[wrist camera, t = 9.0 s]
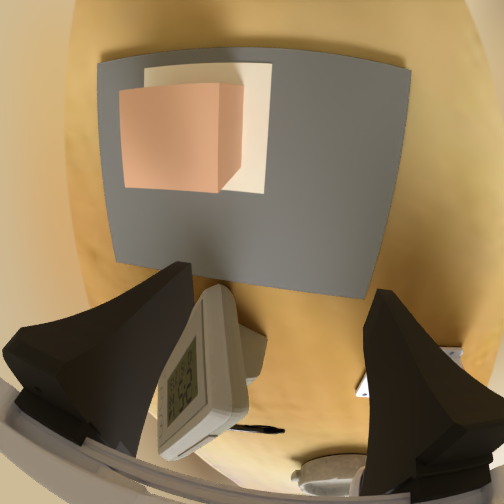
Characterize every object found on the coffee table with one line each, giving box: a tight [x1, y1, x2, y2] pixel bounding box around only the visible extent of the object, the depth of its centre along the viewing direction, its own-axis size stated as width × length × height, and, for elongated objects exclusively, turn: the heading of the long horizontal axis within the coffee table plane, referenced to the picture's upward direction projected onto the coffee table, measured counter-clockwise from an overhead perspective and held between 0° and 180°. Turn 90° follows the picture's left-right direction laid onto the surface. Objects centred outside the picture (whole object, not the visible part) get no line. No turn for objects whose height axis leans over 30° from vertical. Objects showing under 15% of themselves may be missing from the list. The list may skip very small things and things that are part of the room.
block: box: [119, 83, 244, 193], centre depth 15 cm, size 5×5×5 cm
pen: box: [228, 425, 285, 434], centre depth 35 cm, size 14×2×1 cm, turn 98°
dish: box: [291, 454, 367, 497], centre depth 37 cm, size 14×14×5 cm
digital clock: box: [158, 283, 268, 461], centre depth 23 cm, size 16×9×11 cm, turn 140°
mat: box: [97, 47, 411, 299], centre depth 18 cm, size 20×16×1 cm
